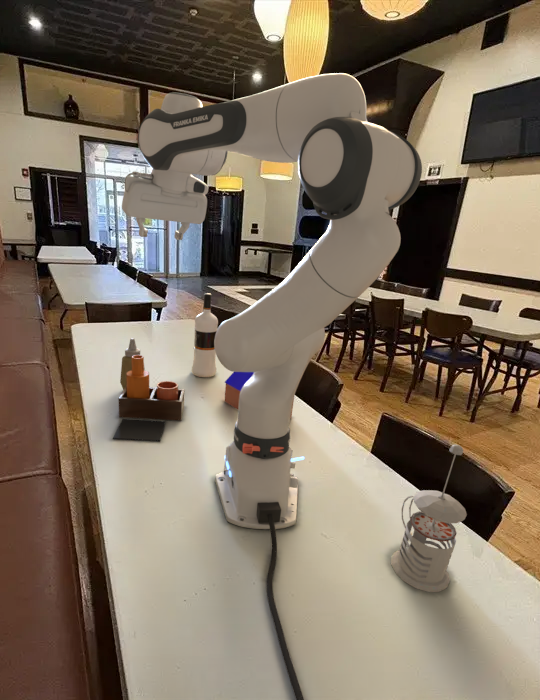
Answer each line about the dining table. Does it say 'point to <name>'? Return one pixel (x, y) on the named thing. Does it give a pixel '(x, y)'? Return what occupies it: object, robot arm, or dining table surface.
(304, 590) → the dining table surface
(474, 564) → the dining table surface
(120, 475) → the dining table surface
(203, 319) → the vodka
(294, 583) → the dining table surface
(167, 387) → the rack cup
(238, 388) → the house
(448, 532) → the french press
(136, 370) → the bottle
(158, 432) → the mat
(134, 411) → the wooden condiment rack
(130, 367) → the squeeze bottle
